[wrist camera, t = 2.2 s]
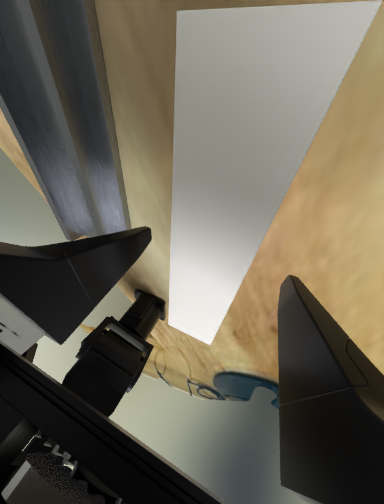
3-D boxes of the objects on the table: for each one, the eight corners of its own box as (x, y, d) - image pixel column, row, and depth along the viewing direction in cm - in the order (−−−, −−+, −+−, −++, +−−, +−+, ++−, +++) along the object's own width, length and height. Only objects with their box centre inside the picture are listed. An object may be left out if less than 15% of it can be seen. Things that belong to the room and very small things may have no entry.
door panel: (229, 279, 19) (210, 345, 13) (198, 268, 20) (167, 324, 14) (304, 97, 9) (386, -1, 3) (233, 91, 9) (174, 10, 4)
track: (134, 250, 22) (121, 261, 20) (74, 227, 25) (57, 235, 23) (70, -140, 7) (-12, -256, 5) (-65, -91, 10) (-153, -153, 8)
